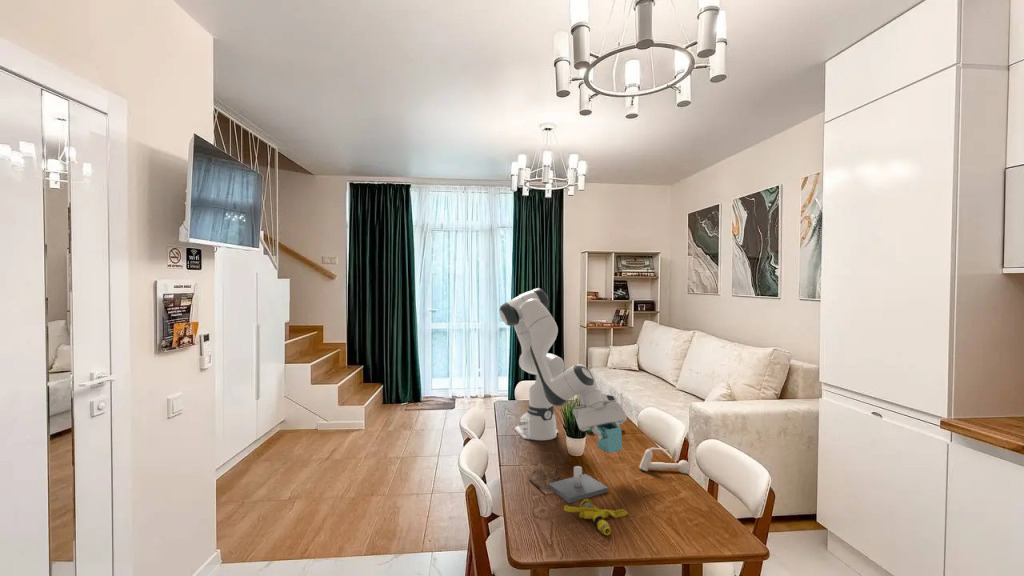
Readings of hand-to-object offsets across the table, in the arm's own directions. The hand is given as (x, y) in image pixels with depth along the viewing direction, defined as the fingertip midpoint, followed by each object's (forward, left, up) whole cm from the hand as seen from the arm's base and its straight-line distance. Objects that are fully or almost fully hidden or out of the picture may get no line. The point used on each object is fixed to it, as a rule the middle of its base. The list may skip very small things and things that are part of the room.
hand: (610, 437), depth 153 cm
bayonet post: (+1, -16, -15) cm, 22 cm away
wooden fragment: (-12, -21, -15) cm, 28 cm away
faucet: (+4, +22, -15) cm, 27 cm away
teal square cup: (-1, 0, -4) cm, 4 cm away
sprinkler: (+20, -22, -15) cm, 34 cm away
